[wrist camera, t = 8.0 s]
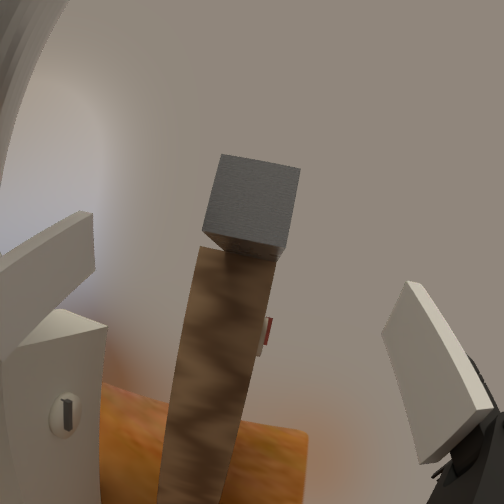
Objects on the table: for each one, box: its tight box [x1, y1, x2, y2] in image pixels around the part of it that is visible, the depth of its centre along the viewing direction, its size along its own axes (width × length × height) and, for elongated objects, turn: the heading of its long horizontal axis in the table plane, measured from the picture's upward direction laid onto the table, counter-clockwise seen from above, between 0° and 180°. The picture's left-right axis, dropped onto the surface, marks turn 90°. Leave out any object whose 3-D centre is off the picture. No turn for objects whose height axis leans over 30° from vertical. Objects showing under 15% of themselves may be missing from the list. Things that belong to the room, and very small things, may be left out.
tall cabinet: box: [157, 246, 276, 504], centre depth 28 cm, size 7×14×30 cm, turn 178°
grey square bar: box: [202, 154, 301, 262], centre depth 26 cm, size 4×24×4 cm, turn 178°
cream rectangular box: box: [0, 309, 108, 504], centre depth 15 cm, size 6×12×22 cm, turn 178°
